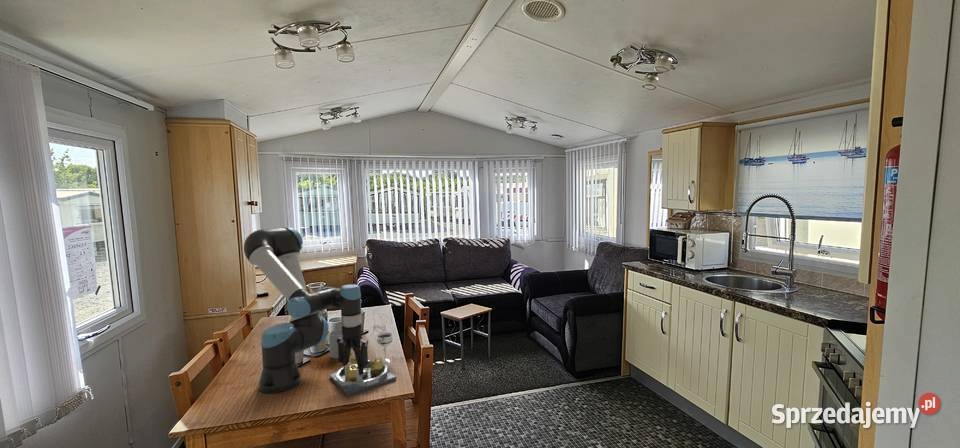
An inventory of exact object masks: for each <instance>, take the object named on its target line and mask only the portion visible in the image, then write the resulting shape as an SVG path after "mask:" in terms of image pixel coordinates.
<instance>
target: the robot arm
mask: <svg viewBox="0 0 960 448" xmlns="http://www.w3.org/2000/svg"><path fill="white" fill-rule="evenodd" d="M303 243H304V241H303V238H302V234H301V233H300V232H299V231H298V229H295V228H294V227H284V226H283V227H276V228H266V229H264V228H263V229H256V230H255V231H252V232H251V233H250V234H248V236H247V237H246V239H245V240H244V243H243V252H244V256H245V258H246V259H247V260H248V262H249V263H250V264H251V265H253V266H257V268H258V269H259V270H260V271H261V272H262V273H263V274H264V276H265V277H266V278H267V279H268V280H269V282H271V284H272V285H273V286H274V287H275V288H276V289H277V291H278V292H279V293H280V294H281V295H282V296H283V298H284V299H285V300H286V301H287V303H286V310H287V312H288V315H289V316H290V319H289V321H288V322H282V323H277V324H274V325H271V326H269V327H268V328H266V329H265V330H264V331H263V332H262V333H261V338H260V340H261V341H260V344H261V345H260V346H261V355H262V358H261V359H262V370H261V373H260V377H259V381H258V390H259V391H260V392H262V393H264V394H276V393H282V392H286V391H288V390H291V389H293V388H295V387H297V386H298V385H299V384H300V383H301V381H302V373H301V372H300V369H299V367H298V365H297V361H296V354H297V353H300V352H302V351H305V350H307V349H310V348H312V347H316V346H318V345H319V344H321V343H323V342H325V340H326V339H327V335H329V324H328V321H327V319H326V318H325V317H324V316H322V315H319V312H322V311H324V310H327V309H332V308H338V309H340V314H341V316H340V317H341V320H340V321H341V322H340V323H341V329H342V335H343V337H340V338H338V339H337V343H338V357H339V358H338V363H339V364H342V366H343V369H344V370H343V371H344V372H345V380H347V367H348V366H350V365H351V360H350V359H351V357H350V356H351V351H352V350H353V352H354V355H355V357H356V361H357V365H358V367H356V379H357V381H363V379H362V374H363V373H364V368H363V367H364V366H365V365H367V364H368V360H369V358H368V357H369V356H368V355H369V353H368V344H369V341H368V340H367V339H366V340H364V339H363V337H362V333H363V327H362V326H363V324H362V294H361V292H362V291H361V286H360V285H359V284H355V283H353V284H351V283H350V284H345V285H342V286H340V287H334V286H324V287H322V288H321V289H320V290H319V291H316V292H311V293H310V291H309V290H308V289H307V285H306V281H305V277H304V275H303V271H302V267H301V264H300V261H299V256H300V255H301V250H302V249H303ZM344 342H345V343H344Z"/></svg>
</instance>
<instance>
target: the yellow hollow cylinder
mask: <svg viewBox="0 0 960 448" xmlns="http://www.w3.org/2000/svg"><path fill="white" fill-rule="evenodd" d="M356 367H358V365H357V364H355V368H353V369H352V367H351V365H350V366H348V367H347V381H352V382H355V381H357V379H356Z"/></svg>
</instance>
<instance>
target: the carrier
mask: <svg viewBox="0 0 960 448" xmlns="http://www.w3.org/2000/svg"><path fill="white" fill-rule="evenodd" d="M382 359H383V358H382V357H377V356H375V357H372V358H371V359H368V364H367V365H365V366H364V367H363V368H364V373H363V374H362V379H363V381H355V382H352V381H347V380H345V372H344V371H343V370H344V369H343V367H341V368H340V369H338V370H337V371H335V372H334V373H330V374H329V378H330V379H331V381H332V382H333V383H334V384H335V385H336V386H337V387H338V388H339V389H340V390H341V392H343V393H344V395H345V396H346V397H352V396H355V395H358V394H360V393H363V392H366V391H369V390H371V389H374V388H377V387H381V386H383V385H387V384H389V383H391V382H394V380H395V381H397V376H396V375H395V374H393V372H391V371H390V370H389V369H388V365H387V363H383V362H382ZM350 363H351V367H352V369H353V368H355V364H357V361H356V357H355V354H353V355H352V356H351V357H350Z"/></svg>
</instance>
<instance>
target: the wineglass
mask: <svg viewBox="0 0 960 448" xmlns="http://www.w3.org/2000/svg"><path fill="white" fill-rule="evenodd" d="M392 335H393V334H392V333H391V332H381V333H378V334H377V335H376V337H377V339H376V341H377V344H378V345H379V346H380V347H382V348H383V351H384V358H382V362H383V363H385V364H387V363H390V362H391V358H388V357H387V355H386V353H387V352H386V351H387V350H386V349H387V347H389V345H391V344H392V342H393V337H392Z"/></svg>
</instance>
